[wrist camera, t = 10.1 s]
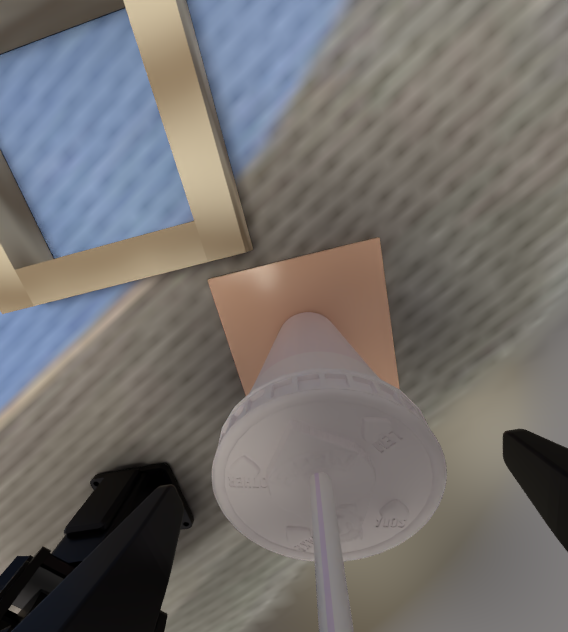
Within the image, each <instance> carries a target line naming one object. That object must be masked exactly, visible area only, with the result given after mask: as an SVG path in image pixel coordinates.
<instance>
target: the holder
mask: <svg viewBox="0 0 568 632" xmlns="http://www.w3.org/2000/svg"><path fill="white" fill-rule="evenodd" d="M124 7H125V8H126V11H127V14H128V17H129V20H130V23H131V26H132V29H133V32H134V35H135V38H136V42H137V45H138V48H139V51H140V54H141V57H142V60H143V63H144V66H145V69H146V72H147V76H148V79H149V82H150V85H151V88H152V91H153V94H154V97H155V100H156V103H157V106H158V110H159V113H160V116H161V119H162V122H163V125H164V128H165V131H166V134H167V137H168V141H169V144H170V147H171V150H172V153H173V156H174V159H175V162H176V165H177V168H178V171H179V175H180V178H181V181H182V184H183V187H184V190H185V193H186V196H187V199H188V202H189V205H190V209H191V212H192V215H193V218H194V221H192V222H188V223H185V224H181V225H177V226H174V227H170V228H166V229H163V230H159V231H155V232H152V233H148V234H144V235H141V236H137V237H133V238H130V239H126V240H122V241H119V242H115V243H111V244H108V245H104V246H100V247H96V248H93V249H89V250H85V251H82V252H78V253H74V254H71V255H67V256H63V257H60V258H56V259H53V257H52V255H51V252H50V250H49V248H48V246H47V244H46V242H45V240H44V238H43V236H42V234H41V232H40V230H39V228H38V226H37V224H36V222H35V220H34V218H33V216H32V214H31V212H30V210H29V208H28V206H27V204H26V201H25V199H24V197H23V195H22V193H21V191H20V189H19V187H18V185H17V183H16V181H15V179H14V177H13V175H12V173H11V171H10V169H9V167H8V165H7V163H6V161H5V159H4V157H3V155H2V152H1V150H0V311H1V313H2V314H4V313H8V312H12V311H16V310H20V309H24V308H28V307H32V306H36V305H40V304H44V303H48V302H52V301H56V300H60V299H64V298H68V297H72V296H75V295H79V294H83V293H87V292H91V291H95V290H99V289H103V288H107V287H111V286H115V285H119V284H123V283H127V282H131V281H135V280H139V279H143V278H147V277H151V276H155V275H159V274H162V273H166V272H170V271H174V270H178V269H182V268H186V267H190V266H194V265H198V264H202V263H206V262H210V261H214V260H218V259H222V258H226V257H230V256H234V255H238V254H242V253H246V252H248V251H251V250H253V246H252V243H251V239H250V235H249V232H248V228H247V224H246V220H245V217H244V213H243V209H242V206H241V202H240V198H239V195H238V191H237V187H236V183H235V180H234V176H233V172H232V169H231V165H230V161H229V157H228V154H227V150H226V146H225V143H224V139H223V135H222V131H221V128H220V124H219V120H218V117H217V113H216V109H215V106H214V102H213V98H212V94H211V91H210V87H209V83H208V80H207V76H206V72H205V68H204V65H203V61H202V57H201V54H200V50H199V46H198V43H197V39H196V35H195V31H194V28H193V24H192V20H191V17H190V13H189V9H188V5H187V2H186V0H0V54H1V53H4V52H7V51H9V50H12V49H15V48H17V47H20V46H23V45H26V44H28V43H31V42H34V41H36V40H39V39H42V38H44V37H47V36H50V35H52V34H55V33H58V32H60V31H63V30H66V29H68V28H71V27H74V26H76V25H79V24H82V23H84V22H87V21H90V20H92V19H95V18H98V17H100V16H103V15H106V14H108V13H111V12H114V11H116V10H119V9H122V8H124Z"/></svg>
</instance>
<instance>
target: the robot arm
mask: <svg viewBox="0 0 568 632" xmlns="http://www.w3.org/2000/svg"><path fill="white" fill-rule="evenodd" d="M503 459H504V461H505V464H506V466H507V467H508V469H509V470H510V472H511V473H512V474H513V476H514V477H515V479H516V480H517V482H518V483H519V485H520V486H521V488H522V489H523V490H524V492H525V493H526V494H527V496H528V498H529V499H530V501H531V502H532V503H533V505H534V506H535V508H536V509H537V511H538V512H539V513H540V515H541V517H542V518H543V519H544V521H545V522H546V524H547V525H548V526H549V528H550V529H551V531H552V532H553V533H554V535H555V536H556V537H557V539H558V540H559V541H560V543H561V544H562V545H563V546H564V548H565V549H566V550H567V551H568V448H566V447H564V446H561V445H559V444H556V443H554V442H552V441H550V440H547V439H545V438H543V437H541V436H539V435H536V434H534V433H532V432H530V431H527V430H524V429H515V430H509V431H505V432H504V433H503ZM90 484H91V486H92V488H93V490H94V491H93V493H92V494H91V495H90V497H89V498H88V499H87V500H86V502H85V503H84V504H83V506H82V507H81V508H80V509H79V511H78V512H77V513H76V515H75V516H74V517H73V518H72V520H71V521H70V522H69V524H68V525H67V526H66V528H65V530H64V534H65V536H64V538H63V539H62V540H61V542H60V543H59V544H58V546H57V547H56V548H55V550H54V551H53V552H52V554H51V553H50V552H51V551H50V550H49V549H47V548H45V547H42V548H41V549H40V550H39V551H38V552H37V553H36V555H35V556H34V557H32V556H31V555H30V556H17V557H16V558H15V559H14V561H13V562H12V563H11V564H10V565H9V566H8V567H7V569H6V570H5V571H4V572H3V573H2V574H1V576H0V632H164V630H165V625H166V620H167V613H165V612H163V611H161V610H160V609H161V606H162V602H163V599H164V596H165V592H166V589H167V585H168V582H169V577H170V573H171V569H172V565H173V560H174V555H175V551H176V546H177V542H178V537H179V532H180V530H181V529H188V528H190V527H191V526H192V524H193V521H194V519H193V516H192V514H191V512H190V510H189V508H188V506H187V504H186V501H185V499H184V497H183V495H182V493H181V491H180V489H179V487H178V484H177V482H176V480H175V478H174V476H173V474H172V472H171V470H170V468H169V466H168V465H166V464H157V465H151V466H146V467H140V468H134V469H128V470H122V471H116V472H110V473H105V474H99V475H95V476H94V478H93V479H92V480H91V481H90ZM11 605H14V606H16V607H18V608H20V609H22V610H21V611H20V612H19V614H16V613H14V612H12V611H9V610H8V609H9V607H10V606H11Z"/></svg>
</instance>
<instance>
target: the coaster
mask: <svg viewBox="0 0 568 632" xmlns="http://www.w3.org/2000/svg"><path fill="white" fill-rule="evenodd" d="M208 283H209V286H210V289H211V292H212V295H213V298H214V301H215V304H216V307H217V310H218V313H219V316H220V319H221V322H222V325H223V329H224V332H225V335H226V338H227V341H228V344H229V347H230V350H231V353H232V356H233V359H234V362H235V365H236V368H237V371H238V374H239V377H240V380H241V383H242V386H243V389H244V392H245V395H246V396H247V395H248V394H249V393H250V391H251V389H252V387H253V385H254V383H255V381H256V379H257V377H258V375H259V373H260V371H261V369H262V367H263V365H264V362H265V360H266V358H267V356H268V354H269V352H270V350H271V348H272V346H273V344H274V341H275V339H276V337H277V335H278V333H279V331H280V329H281V327H282V325H283V324H284V323H285V322H286V321H287V320H288V319H289V318H290V317H292V316H294V315H296V314H299V313H303V312H313V313H318V314H320V315H323V316H324V317H326V318H327V319H329V320H330V321H331V322H332V324H333V325H334V326H335V327H336V328H337V329H338V331H339V332H340V333H341V334H342V335H343V336H344V338H345V339H346V340H347V341H348V342H349V344H350V345H351V346H352V347H353V348H354V349H355V351H356V352H357V353H358V354H359V355H360V356H361V358H362V359H363V360H364V361H365V362H366V363H367V365H368V366H369V367H370V368H371V369H372V371H373V372H374V373H375V374H376V375H377V376H378V377H379V378H380V379H381V380H383V381H385V382H387V383H389V384H390V385H392V386H394V387H396V388H398V389H400V388H399V381H398V373H397V366H396V358H395V350H394V343H393V335H392V328H391V320H390V313H389V305H388V297H387V290H386V282H385V275H384V267H383V260H382V252H381V244H380V237H376V238H372V239H368V240H364V241H360V242H355V243H351V244H347V245H343V246H339V247H335V248H331V249H327V250H323V251H319V252H315V253H311V254H307V255H303V256H298V257H294V258H290V259H286V260H282V261H278V262H274V263H270V264H266V265H262V266H258V267H254V268H250V269H246V270H242V271H237V272H233V273H229V274H225V275H221V276H217V277H213V278H210V279H208Z"/></svg>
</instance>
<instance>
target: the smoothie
mask: <svg viewBox="0 0 568 632" xmlns="http://www.w3.org/2000/svg"><path fill="white" fill-rule="evenodd" d="M446 476H447V469H446V462H445V457H444V454H443V451H442V448H441V446H440V444H439V442H438V440H437V438H436V437H435V435H434V434H433V432H432V431H431V430H430V428H429V426H428V424H427V422H426V420H425V418H424V416H423V414H422V412H421V410H420V409H419V408H418V407H417V406H416V405H415V404H414V403H413V402H412V401H411V400H410V399H409V398H408V397H407V396H406V395H405V394H404V393H403V392H402V391H401V390H400V389H398V388H396V387H394V386H392V385H390V384H389V383H387V382H385V381H383V380H381V379H380V378H379V377H378V376H377V375H376V374H375V373H374V372H373V371H372V369H371V368H370V367H369V366H368V365H367V363H366V362H365V361H364V360H363V359H362V358H361V356H360V355H359V354H358V353H357V352H356V351H355V349H354V348H353V347H352V346H351V345H350V344H349V342H348V341H347V340H346V339H345V338H344V336H343V335H342V334H341V333H340V332H339V331H338V329H337V328H336V327H335V326H334V325H333V324H332V322H331V321H330V320H329V319H327V318H326V317H324V316H323V315H320V314H318V313H313V312H303V313H299V314H296V315H294V316H292V317H290V318H289V319H288V320H287V321H286V322H285V323H284V324H283V325H282V327H281V329H280V331H279V333H278V335H277V337H276V339H275V341H274V344H273V346H272V348H271V350H270V352H269V354H268V356H267V358H266V360H265V362H264V365H263V367H262V369H261V371H260V373H259V375H258V377H257V379H256V381H255V383H254V385H253V387H252V389H251V391H250V393H249V394H248V395H247V396H246V397H245V398H244V399H242V400H241V401H240V402H239V403H238V404H237V405H236V406H235V407H234V408H233V410H232V412H231V413H230V415H229V417H228V418H227V420H226V422H225V423H224V425H223V427H222V430H221V434H220V439H219V444H218V448H217V451H216V454H215V457H214V460H213V465H212V486H213V491H214V495H215V498H216V501H217V503H218V505H219V507H220V509H221V510H222V512H223V514H224V515H225V517H226V518H227V519H228V520H229V522H230V523H231V524H232V525H233V526H234V527H235V528H236V529H237V530H238V531H239V532H240V533H242V534H243V535H244V536H245V537H247V538H248V539H249V540H250V541H252V542H254V543H256V544H258V545H259V546H261V547H263V548H265V549H267V550H269V551H272V552H274V553H277V554H280V555H283V556H286V557H290V558H295V559H299V560H303V561H314V562H315V575H316V591H317V606H318V622H319V632H354V630H353V623H352V617H351V610H350V603H349V597H348V591H347V584H346V577H345V570H344V563H343V562H344V561H351V560H356V559H362V558H366V557H369V556H373V555H376V554H380V553H382V552H384V551H387V550H389V549H391V548H393V547H395V546H398V545H399V544H401V543H402V542H404V541H405V540H407V539H408V538H410V537H411V536H413V535H414V534H415V533H416V532H418V531H419V530H420V529H421V528H422V527H423V526H424V525H425V524H426V523H427V522H428V521H429V519H430V518H431V516H432V515H433V514H434V512H435V510H436V509H437V508H438V506H439V503H440V501H441V499H442V496H443V493H444V490H445V486H446Z"/></svg>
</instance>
